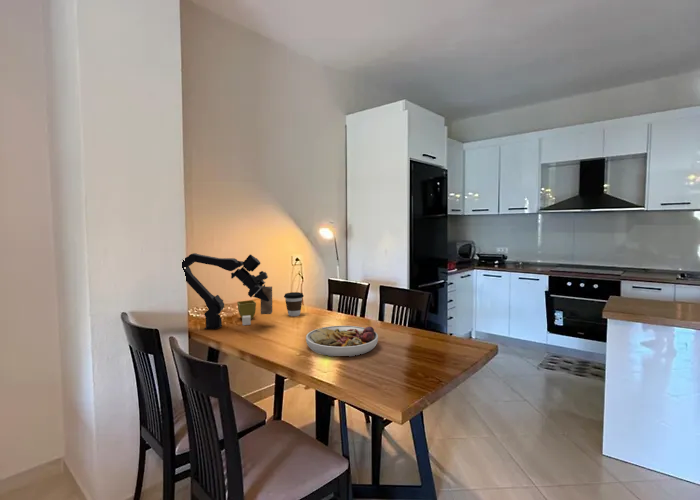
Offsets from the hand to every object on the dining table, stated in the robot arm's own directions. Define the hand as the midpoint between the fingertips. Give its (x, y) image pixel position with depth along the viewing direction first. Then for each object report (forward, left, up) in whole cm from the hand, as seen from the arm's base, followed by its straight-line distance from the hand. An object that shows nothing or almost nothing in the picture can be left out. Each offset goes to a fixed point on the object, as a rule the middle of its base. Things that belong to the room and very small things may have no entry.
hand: (269, 299), depth 188 cm
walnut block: (-1, 0, -7) cm, 7 cm away
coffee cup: (+7, +23, -14) cm, 28 cm away
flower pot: (-17, +14, -14) cm, 26 cm away
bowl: (+40, -28, -14) cm, 50 cm away
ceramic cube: (-13, +3, -14) cm, 19 cm away
